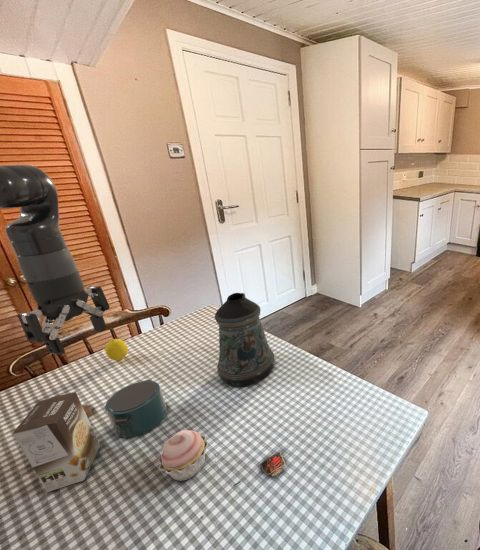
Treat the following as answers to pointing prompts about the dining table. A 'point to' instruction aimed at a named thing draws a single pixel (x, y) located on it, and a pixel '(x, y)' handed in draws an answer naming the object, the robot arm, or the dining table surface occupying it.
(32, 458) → the coffee box
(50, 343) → the robot arm
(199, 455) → the cupcake
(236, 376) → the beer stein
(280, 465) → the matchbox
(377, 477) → the dining table surface
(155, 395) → the enamel pot
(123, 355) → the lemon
